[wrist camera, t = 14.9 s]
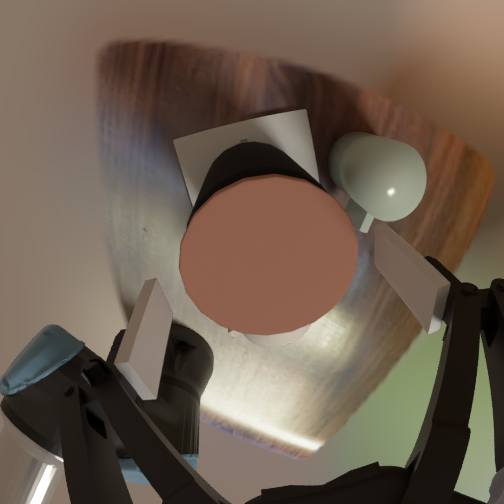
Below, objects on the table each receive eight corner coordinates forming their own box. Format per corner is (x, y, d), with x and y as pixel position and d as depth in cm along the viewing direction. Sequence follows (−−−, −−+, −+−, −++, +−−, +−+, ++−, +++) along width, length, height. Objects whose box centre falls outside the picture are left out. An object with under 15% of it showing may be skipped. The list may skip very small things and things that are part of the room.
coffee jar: (206, 230, 35) (187, 337, 19) (204, 140, 30) (169, 177, 14) (295, 229, 35) (341, 331, 19) (301, 142, 30) (373, 181, 14)
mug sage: (340, 121, 30) (375, 127, 22) (394, 146, 31) (436, 161, 24) (312, 199, 34) (335, 228, 26) (366, 217, 36) (398, 248, 28)
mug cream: (278, 240, 37) (291, 280, 29) (307, 283, 40) (323, 326, 32) (213, 279, 39) (209, 324, 31) (246, 317, 42) (249, 363, 34)
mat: (209, 254, 37) (209, 257, 36) (173, 139, 30) (172, 140, 29) (324, 227, 36) (326, 230, 36) (304, 109, 29) (306, 108, 29)
